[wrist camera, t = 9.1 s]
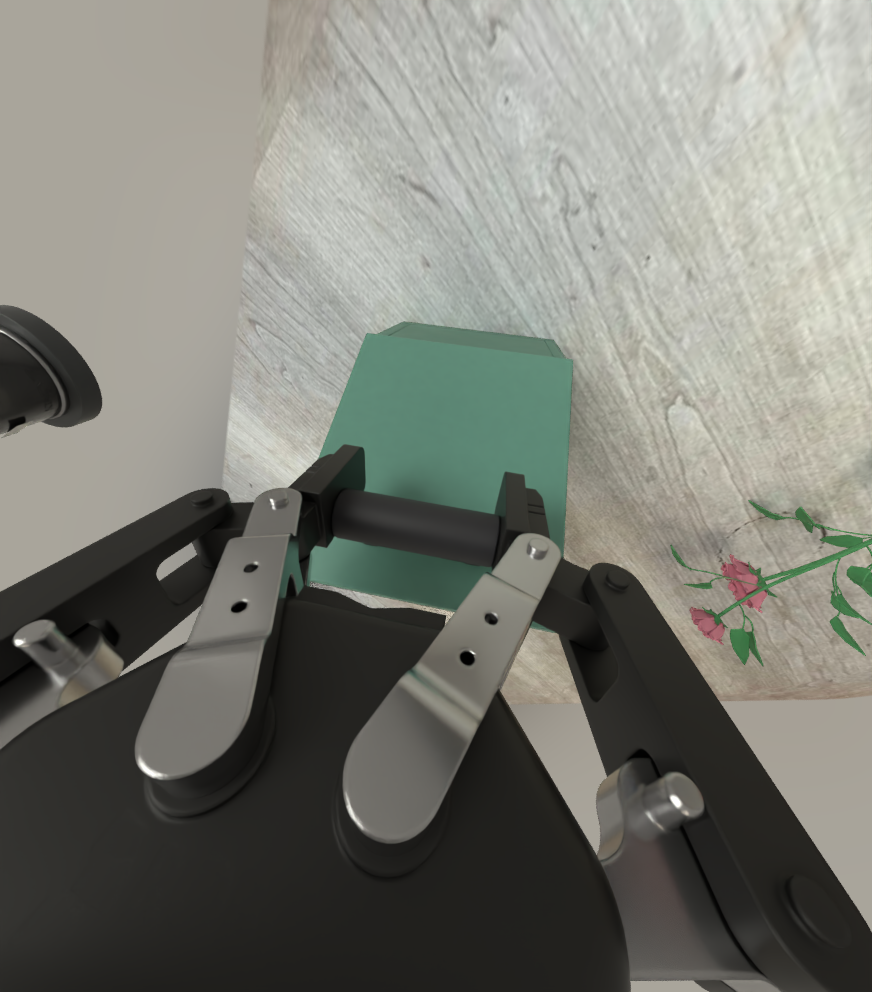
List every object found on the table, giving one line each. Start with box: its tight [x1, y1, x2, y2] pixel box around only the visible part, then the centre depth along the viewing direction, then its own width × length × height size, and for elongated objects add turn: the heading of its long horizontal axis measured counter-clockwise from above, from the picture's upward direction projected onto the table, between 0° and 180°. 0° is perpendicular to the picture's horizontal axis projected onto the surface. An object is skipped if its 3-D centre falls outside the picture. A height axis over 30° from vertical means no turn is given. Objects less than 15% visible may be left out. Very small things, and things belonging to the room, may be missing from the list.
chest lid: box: [310, 333, 573, 633], centre depth 14 cm, size 14×12×5 cm
